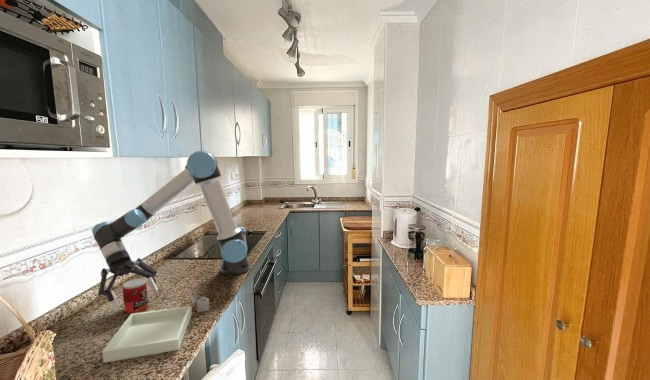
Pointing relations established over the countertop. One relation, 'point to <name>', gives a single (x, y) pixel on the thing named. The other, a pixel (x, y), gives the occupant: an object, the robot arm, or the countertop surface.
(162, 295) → the countertop surface
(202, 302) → the lighter
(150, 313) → the tray
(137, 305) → the canned food
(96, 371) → the countertop surface
